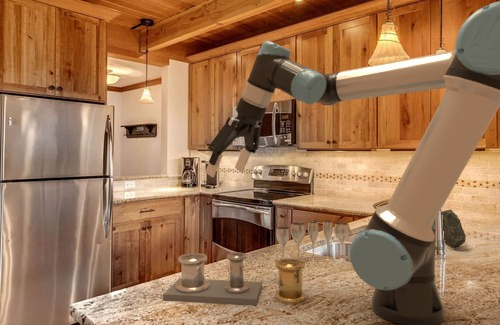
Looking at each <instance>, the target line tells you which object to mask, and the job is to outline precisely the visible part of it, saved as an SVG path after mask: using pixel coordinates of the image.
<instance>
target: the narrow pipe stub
mask: <svg viewBox="0 0 500 325" xmlns="http://www.w3.org/2000/svg"><path fill="white" fill-rule="evenodd" d="M226 259H227V260H228V261H229V280H230V283H227V284H226V285H225V291H226V292H228V293H233V294H239V293H244V292H247V291H248V290H249V285H248V284H247V283H245V282H244V281H245V280H244V277H245V274H244V273H245V272H244V268H245V266H244V260H246V259H247V254H246V253H245V252H239V251H238V252H230V253H227V255H226Z"/></svg>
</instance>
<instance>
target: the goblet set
mask: <svg viewBox="0 0 500 325" xmlns="http://www.w3.org/2000/svg"><path fill="white" fill-rule="evenodd" d="M322 222H323V223H322V232H323V236H324V238H325V241H326V248H327V249H326V251H327V253H326V254H327V255H326V256H322V259H323V260H329V261H331V260H333V259H334V257H333V256H329V244H330V243H329V242H330V240H331V238H332V237H331V236H332V235H333V233H334V235H335V236H336V238H337V239H338V240H339V242H340V245H341V248H340V249H341V254H336V255H335V258H338V259H342V260H343V259H345V260H346V259H350V256H349V255H346V254H343V248H344V247H343V245H344V241H345V240H346V239H347V238H348V237H349V236H350V235H351V234H350V233H351V227H350V225H349V223H348V222H336V223H335V224H334V226H333V221H330V220H326V221H325V220H324V221H322ZM275 230H276V232H275V237H276V239H277V242H278V243H279V245H280V247H281V255H282V259H285V256H284V255H285V254H284V253H285V248H286V245H287V244H288V242H289V239H290V237H292V239H293V240H294V242H295V243H296V247H297V259H299V260H302V261H304V262H305V263H306V260H305V259H302V258H300V246H301V243H302V241H304V238H305V236H306V232H308V235H309V239H310V240H311V244H312V245H311V247H312V257H308V258H307V261H311V262H318V261H319V260H320V259H319V258H318V257H315V254H314V253H315V252H314V251H315V242H316V240H317V238H318V236H319V222H318V221H313V220H312V221H308V225H307V228H306V223H304V222H291V225H290V227H287V226H277V227H276V229H275Z"/></svg>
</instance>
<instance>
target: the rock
mask: <svg viewBox="0 0 500 325" xmlns="http://www.w3.org/2000/svg"><path fill="white" fill-rule="evenodd" d="M441 213H442V215H443V231H444V239H443V241H444V242H445V243H446V244H447V245H448V246H449V247H451V248H458V247H460V246H462V245H463V244H465V243H466V238H467V237H466V236H467V235H466V233H465V231H464V228H463V227H462V223H461V219H460V218H459V216H458V215H457V214H456V213H455V212H454V211H453V210H452V209H448V210H446V209H445V210H443V211H442V212H441Z"/></svg>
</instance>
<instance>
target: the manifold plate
mask: <svg viewBox="0 0 500 325" xmlns="http://www.w3.org/2000/svg"><path fill="white" fill-rule="evenodd" d="M205 279H206V278H205ZM181 280H182V277H180V278H178V279H177V280H176V281H175V282H174V283H173V284H172V285H170V286H169V288H168V289H166V290H165V292H163V293H162V300H163V301H170V302H171V301H175V302H193V303H206V304H207V303H208V304H211V303H212V304H226V305H227V304H228V305H242V306H243V305H245V306H257V305H258V301H259V298H260V296H261V292H262V290H263V281H253V280H251V281H245V280H244V282H245V283H247V284H248V285H249V290H248V291H247V292H244V293H239V294H233V293H228V292H226V291H225V285H226V284H227V283H230V279H227V280H225V279H206V280H208V281H209V282H210V287H209V288H208V289H207V290H205V291H202V292H198V293H182V292H179V291H177V290H176V284H177V283H178V282H179V281H181Z"/></svg>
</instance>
